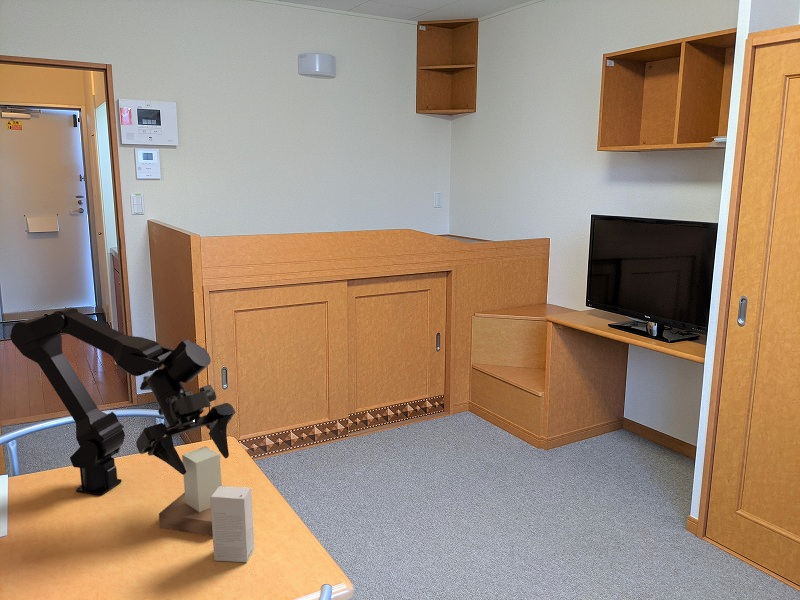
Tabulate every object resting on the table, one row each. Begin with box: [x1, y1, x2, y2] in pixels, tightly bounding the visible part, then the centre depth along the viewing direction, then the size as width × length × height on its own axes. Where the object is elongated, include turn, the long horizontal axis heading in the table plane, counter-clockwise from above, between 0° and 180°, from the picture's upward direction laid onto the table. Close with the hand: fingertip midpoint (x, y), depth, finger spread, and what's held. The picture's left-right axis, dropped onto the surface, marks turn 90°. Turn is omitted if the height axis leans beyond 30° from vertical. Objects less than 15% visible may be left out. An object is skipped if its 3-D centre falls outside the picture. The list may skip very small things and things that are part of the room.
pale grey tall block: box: [181, 446, 223, 512], centre depth 126 cm, size 5×5×10 cm
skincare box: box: [210, 485, 255, 563], centre depth 114 cm, size 6×4×12 cm
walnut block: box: [158, 491, 213, 538], centre depth 127 cm, size 12×12×4 cm
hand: (206, 465), depth 124 cm, fingers open, 9 cm apart
